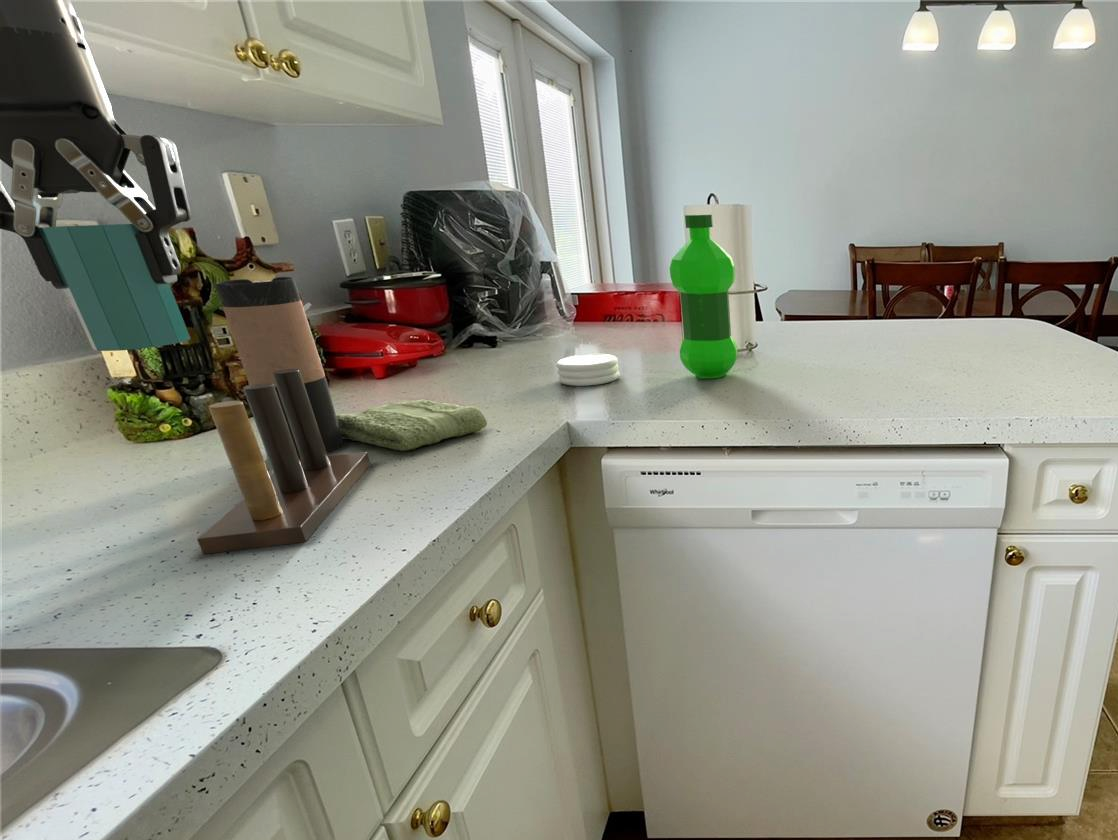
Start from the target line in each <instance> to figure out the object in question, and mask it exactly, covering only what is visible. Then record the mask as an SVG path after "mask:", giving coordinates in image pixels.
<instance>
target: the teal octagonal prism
mask: <svg viewBox="0 0 1118 840" xmlns="http://www.w3.org/2000/svg"><path fill="white" fill-rule="evenodd" d="M38 228H39V230H40V233H41V235H42V237H43V239H44V242H45V244H46V246H47V248H48V250H49V253H50V255H51V257H52V259H53V262H54V264H55V266H56V268H57V270H58V273H59V275H60V277H61V279H62V282H63V284H64V286H65V288H66V289H65V290H66V293H67V295H68V298H69V299H70V301H71V303H72V306H73V308H74V310H75V313H76V314H77V315H76V316H77V317H78V319H79V322H80V323H81V326H82V328H83V330H84V333H85V335H86V337H87V339H88V342H89V344H90V346H91V349H93V350H94V351H97V352H115V351H118V352H120V351H130V350H139V349H148V348H149V349H151V348H157V347H162V346H169V345H175V344H176V345H177V344H180V343H183V342H186V341H189V340H191V336H190V334H189V331H188V328H187V326H186V323H185V320H184V318H183V316H182V313H181V310H180V308H179V306H178V302H177V300H176V298H175V295H174V292H173V290H172V288H171V286H170V283H168V284H157V283H155V282H154V280H153V278H152V276H151V273H150V271H149V268H148V266H147V263H146V261H145V258H144V256H143V253H142V251H141V248H140V246H139V243H138V241H137V238H136V236H135V234H140V232H139V230H138V229H137V228H136V227H135V226H134V225H133V224H132V223H119V224H117V223H116V224H92V225H91V224H89V225H65V226H64V225H61V226H56V227H38Z"/></svg>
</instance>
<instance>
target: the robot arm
mask: <svg viewBox="0 0 1118 840" xmlns="http://www.w3.org/2000/svg"><path fill="white" fill-rule="evenodd" d="M109 99H110V98H109V97H108V95H107V91H106V88H105V87H104V83H103V81H102V78H101V76H100V73H99V70H98V68H97V65H96V63H95V60H94V58H93V55H92V53H91V50H90V47H89V45H88V42H87V40H86V37H85V29H84V27H83V24H82V23H81V20H80V18H79V17H78V16H77V14H76V12H75V8H74V6H73V4H72V1H71V0H0V160H1V161H2V162H3V163H4V164H5V165H6V166H8V167H9V168H10V169H11V170H12V172H11V173H12V176H11V187H10V195H9V194H8V192H7V191H6V189H5V187H4V186H3V184H2V182H1V181H0V230H3V231H7V232H11V233H15V235H16V234H17V235H18V236H19V237H21V238H22V239H23V241H24V242H25V245H26V247H27V249H28V251H29V253H30V256H31V258H32V261H34V265H35V266H36V267H37V270H38V274H39V275H40V276H41V277H42V278H43V280H45V282H50V283H51V285H52V286H53V287H54V288H55V289H57V290H66V288H65V286H64V284H63V282H62V279H61V277H60V275H59V273H58V270H57V268H56V266H55V264H54V262H53V259H52V257H51V255H50V253H49V250H48V248H47V246H46V244H45V242H44V239H43V237H42V235H41V233H40V230H39V228H38V227H57V218H58V210H59V209H60V208H61V207H62V205H63V201H64V199H63V198H64V195H67V194H78V193H98V194H100V195H101V197H103V199H104V200H105V201H106V202H108V204H110V205H112V206H114V207H115V208H117V209H118V210H119V211H120V212H121V214H123V215H124V217H125V218H126V219H127V220H128V221H129V222H130V224H133V225H134V226H135V227H136V228H137V229H138V230H139V232H140V234H135V236H136V238H137V241H138V243H139V246H140V248H141V251H142V253H143V256H144V258H145V261H146V263H147V266H148V268H149V271H150V273H151V276H152V278H153V280H154V282H155V283H157V284H168V283H169V284H174V283H177V282H178V275H181V273H182V271H181V270H182V265H181V264H180V260H178V255H177V253H176V250H175V248H174V245H173V243H172V241H171V240H172V239H171V237H170V234H169V232H170V230H171V228H172V227H174V226H176V225H179V224H181V223H185V222H186V223H187V222H189V221H190V220H191V218H192V213H191V207H190V204H189V199H188V194H187V190H186V185H185V181H184V177H183V172H182V167H181V163H180V158H179V154H178V149H177V146H176V145H177V144H175V142H174V141H172V139H170V138H167V137H163V136H160V135H154V134H153V135H150V134H144V135H133V134H128V133H127V132H126V131H125V130H124V129H123V128H122V127H121V126H120V125H119V123H118V122H117V120H116V119H115V116H114V114H113V109H112V104H111V102H110V100H109ZM131 152H132V153H133V154H134V156H135V157H136V160H137V161H138V163H139V164H141V165H142V166H144V167H145V168H146V173H147V177H148V182H149V185H150V190H151V195H152V199H153V202H154V204H153V203H151V201H150V200H149V198H148V195H147V194H146V192H145V191H144V190H143V189H142V188H141V187H140V185H139V184H138V183H137V182H136V181H135V180H134V179H133V177H131V175H129V173H128V172H126V170H125V168H126V165H127V162H128V160H129V157H130V155H131Z"/></svg>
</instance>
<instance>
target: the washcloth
mask: <svg viewBox="0 0 1118 840" xmlns="http://www.w3.org/2000/svg"><path fill="white" fill-rule="evenodd" d="M336 417H337V421H338V425H339V428H340V432H341V436H342V439H348V440H350V441H353V442H355V441H357V442H362V443H365V444H369V445H374V446H376V447H382V448H387V449H391V450H395V451H401V452H403V451H405V452H406V451H410V450H416V449H418V448H420V447H423V446H426V445H427V446H429V445H432V444H437V443H439V442H440V441H442V440H447V439H450V438H457V437H462V436H465V435H468V434H472V433H475V432H480V431H482V430H483V429H484V428H486V427H487V424H488V421H487V419H486V417H485V415H484V413H483V412H482V411H481V409H480V408H478V407H476V406H474V405H473V406H471V405H466V406H465V405H464V406H461V405H457V404H455V403H445V402H439V401H433V400H430V399H429V400H427V399H415V400H409V401H404V402H402V401H401V402H392V403H388V404H386V405H379V406H374V407H369V408H366V409H365V410H362V411H360V412H357V413H341V414H336Z"/></svg>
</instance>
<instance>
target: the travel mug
mask: <svg viewBox="0 0 1118 840" xmlns="http://www.w3.org/2000/svg"><path fill="white" fill-rule="evenodd" d="M214 286H215V289H216V291H217V294H218V297H219V298H218V299H219V300H220V303H221V306H222V309H223V312H224V314H225V318H226V321H227V324H228V326H229V329H230V333H231V335H232V336H231V337H232V339H233V341H234V343H235V347H236V350H237V353H238V356H239V359H240V362H241V365H242V367H243V371H244V373H245V376H246V379H247V382H248V386H249V385H254V384H261V383H272V384H274V387H275V390H276V393H277V396H278V399H279V402H280V404H281V407H282V410H283V413H284V416H285V419H286V422H287V425H288V428H289V431H290V434H291V437H292V440H293V442H294V445H295V448H296V451H297V454H298V457H299V458H301V457H300V454H299V451H298V448H297V445H296V442H295V439H294V436H293V433H292V430H291V427H290V425H289V422H288V419H287V416H286V413H285V410H284V407H283V404H282V401H281V398H280V395H279V392H278V389H277V386H276V383H275V381H274V378H273V375H272V372H274V371H278V370H283V369H299V370H300V373H301V376H302V379H303V382H304V385H305V388H306V391H307V394H308V398H309V401H310V404H311V407H312V410H313V413H314V416H315V419H316V422H317V425H318V428H319V432H320V435H321V438H322V441H323V444H324V447H325V450H326V453H330V452H333V451H335V450H338V449H340V448H341V447H343V445H344V441H343V437H342V436H341V432H340V428H339V425H338V421H337V417H336V416H337V414H336V410H335V406H334V402H333V400H332V396H331V391H330V388H329V384H328V379H327V377H326V374H325V370H324V367H323V365H322V361H321V358H320V355H319V352H318V348H317V345H316V342H315V339H314V336H313V333H312V330H311V327H310V324H309V320H308V318H307V315H306V314H307V313H306V311H305V308H304V305H303V301H302V300H301V299H302V298H301V294H300V292H299V288H298V286H297V282H296V280H295V278H294V277H290V276H278V277H274V278H272V280H270V281H256V282H254V281H252V280H250V279H249V278H248V279H247V278H241V279H239V278H238V279H230V280H221V281H216V282H215V283H214Z"/></svg>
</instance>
